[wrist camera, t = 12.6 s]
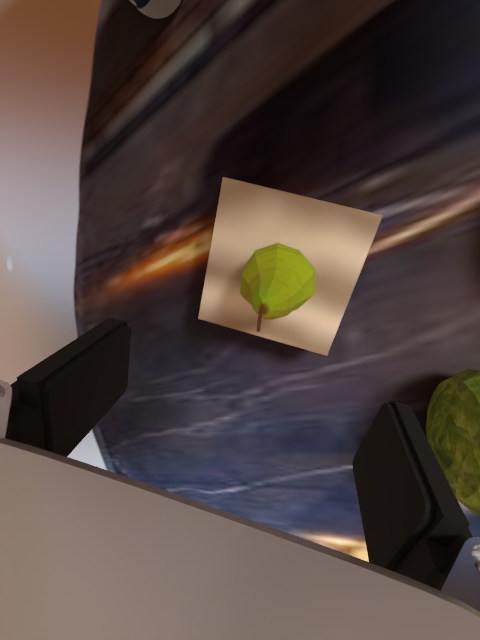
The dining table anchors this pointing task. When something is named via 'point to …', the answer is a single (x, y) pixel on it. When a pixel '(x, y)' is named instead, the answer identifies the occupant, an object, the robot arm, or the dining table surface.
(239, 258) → the plinth
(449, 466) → the lettuce
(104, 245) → the dining table surface
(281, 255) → the fruit
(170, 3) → the lotion bottle
